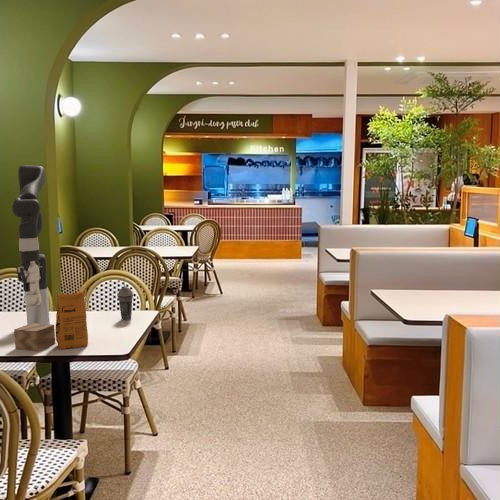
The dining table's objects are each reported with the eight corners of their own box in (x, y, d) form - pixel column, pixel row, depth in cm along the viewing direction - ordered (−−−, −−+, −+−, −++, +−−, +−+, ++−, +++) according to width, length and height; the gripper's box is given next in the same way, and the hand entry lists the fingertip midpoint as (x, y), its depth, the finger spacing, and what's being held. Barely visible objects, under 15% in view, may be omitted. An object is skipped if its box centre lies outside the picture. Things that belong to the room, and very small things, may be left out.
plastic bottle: (45, 304, 247) (42, 256, 245) (34, 307, 240) (31, 258, 238) (32, 303, 249) (29, 255, 247) (20, 306, 243) (18, 257, 240)
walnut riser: (15, 348, 243) (14, 329, 242) (33, 341, 254) (32, 323, 253) (37, 350, 240) (36, 331, 239) (55, 343, 250) (54, 324, 249)
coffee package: (55, 344, 249) (52, 292, 246) (86, 340, 253) (83, 289, 251) (57, 350, 240) (54, 296, 237) (89, 346, 244) (86, 293, 242)
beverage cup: (121, 321, 286) (119, 280, 283) (117, 318, 292) (114, 277, 289) (135, 319, 289) (134, 278, 286) (131, 316, 295) (129, 276, 293)
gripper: (33, 246, 250) (36, 286, 252) (9, 251, 236) (12, 293, 238) (48, 247, 247) (51, 287, 249) (24, 251, 234) (27, 294, 236)
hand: (32, 289), depth 244 cm, fingers closed on plastic bottle, 5 cm apart
